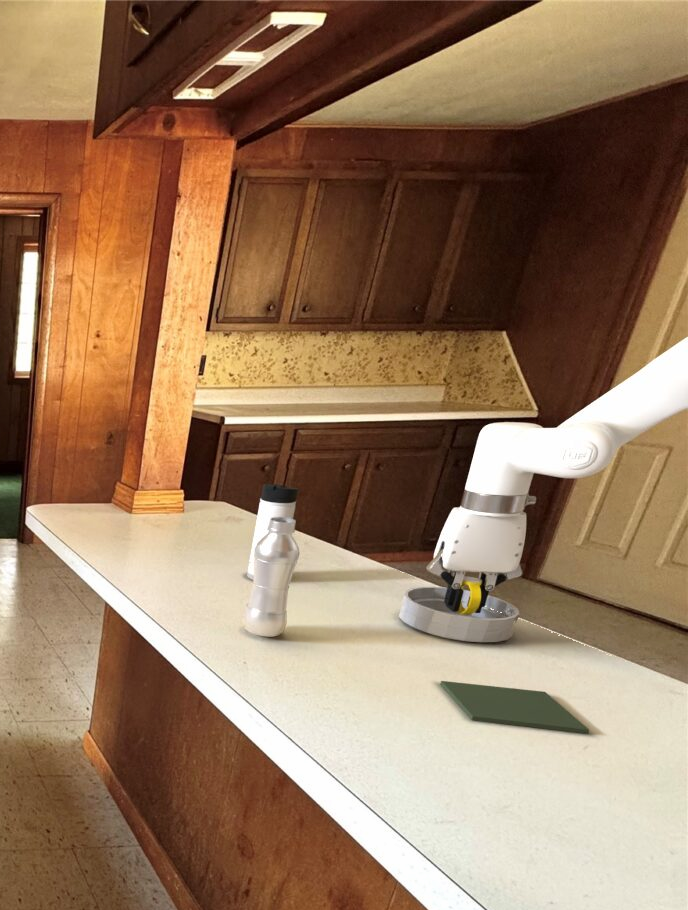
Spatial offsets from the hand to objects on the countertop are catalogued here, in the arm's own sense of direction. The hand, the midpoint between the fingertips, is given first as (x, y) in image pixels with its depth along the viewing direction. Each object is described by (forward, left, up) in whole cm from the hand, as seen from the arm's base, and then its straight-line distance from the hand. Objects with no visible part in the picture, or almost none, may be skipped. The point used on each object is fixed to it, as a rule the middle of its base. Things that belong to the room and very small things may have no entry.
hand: (462, 608), depth 112 cm
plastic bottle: (+32, +11, -4) cm, 34 cm away
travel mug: (+27, -19, -4) cm, 33 cm away
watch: (0, 0, -1) cm, 1 cm away
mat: (+5, +29, -3) cm, 29 cm away
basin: (+1, 0, -3) cm, 4 cm away
